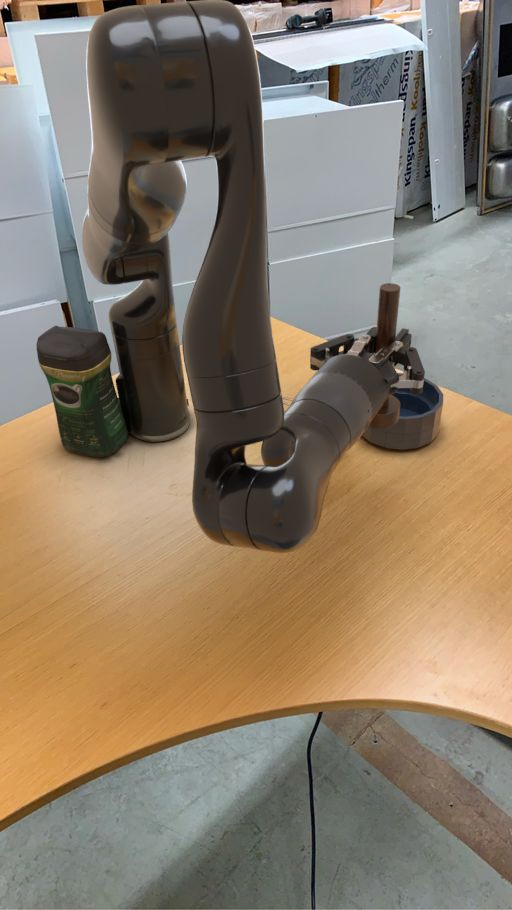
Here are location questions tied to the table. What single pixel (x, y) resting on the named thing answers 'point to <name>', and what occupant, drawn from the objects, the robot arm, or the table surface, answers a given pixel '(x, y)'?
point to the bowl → (411, 419)
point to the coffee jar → (82, 390)
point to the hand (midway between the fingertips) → (393, 333)
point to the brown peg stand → (384, 338)
